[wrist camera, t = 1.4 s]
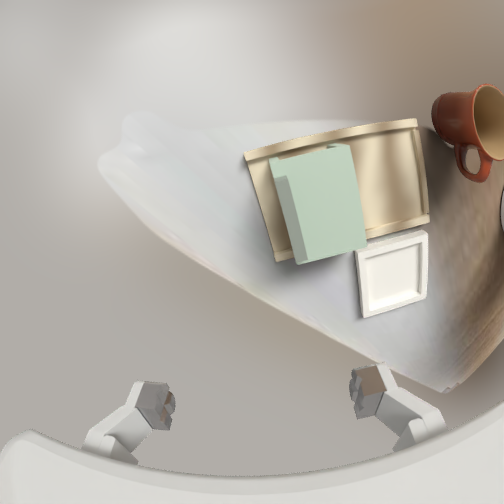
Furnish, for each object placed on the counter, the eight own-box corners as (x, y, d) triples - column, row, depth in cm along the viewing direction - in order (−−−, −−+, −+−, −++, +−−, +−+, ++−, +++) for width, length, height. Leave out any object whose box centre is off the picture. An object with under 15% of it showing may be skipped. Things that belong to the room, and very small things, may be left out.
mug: (425, 80, 24) (472, 70, 15) (469, 103, 24) (517, 104, 15) (416, 162, 29) (463, 175, 20) (460, 178, 29) (507, 196, 20)
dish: (422, 229, 33) (427, 233, 31) (421, 292, 37) (425, 297, 35) (354, 248, 34) (357, 253, 33) (360, 311, 39) (363, 318, 37)
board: (410, 118, 27) (416, 118, 26) (424, 219, 32) (429, 222, 31) (244, 152, 30) (243, 152, 29) (275, 257, 36) (276, 262, 34)
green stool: (334, 143, 29) (357, 146, 21) (352, 229, 33) (374, 256, 25) (268, 158, 30) (269, 166, 22) (292, 244, 34) (299, 276, 27)
